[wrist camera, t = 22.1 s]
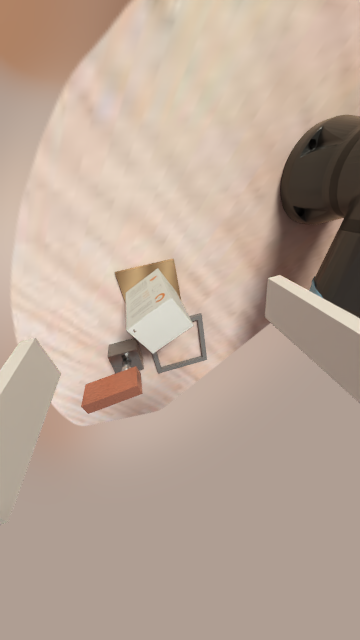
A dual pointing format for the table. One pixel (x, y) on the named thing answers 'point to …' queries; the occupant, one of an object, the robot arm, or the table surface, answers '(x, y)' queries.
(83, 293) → the table surface
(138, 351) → the key housing
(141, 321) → the small box
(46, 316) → the table surface
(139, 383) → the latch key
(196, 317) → the seat rim
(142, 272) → the cork pad
